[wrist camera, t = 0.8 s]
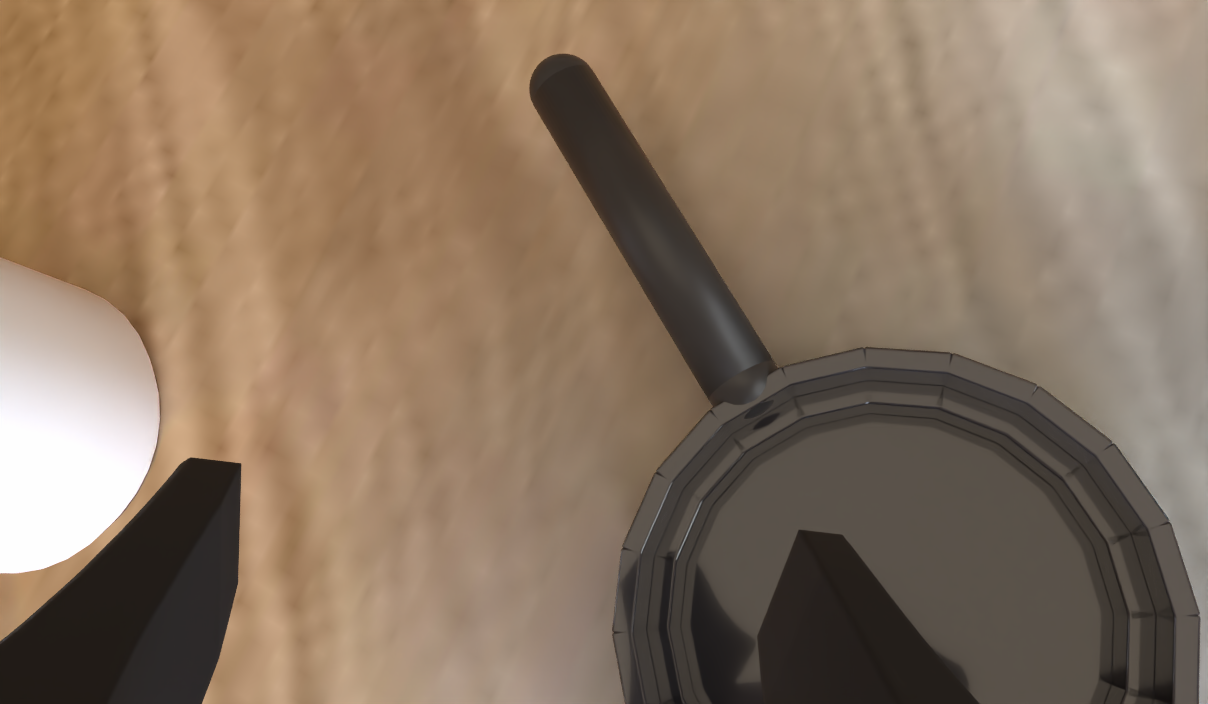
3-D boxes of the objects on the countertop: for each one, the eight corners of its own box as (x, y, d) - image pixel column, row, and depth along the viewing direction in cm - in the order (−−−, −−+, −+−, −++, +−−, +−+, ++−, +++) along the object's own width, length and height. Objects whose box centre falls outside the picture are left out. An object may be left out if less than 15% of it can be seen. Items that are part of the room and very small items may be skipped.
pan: (1273, 730, 25) (1336, 752, 21) (803, 981, 26) (792, 1040, 23) (964, 290, 28) (976, 249, 25) (564, 527, 30) (524, 519, 26)
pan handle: (796, 400, 27) (791, 387, 25) (733, 437, 27) (723, 427, 25) (585, 60, 30) (567, 28, 28) (529, 96, 30) (508, 66, 29)
